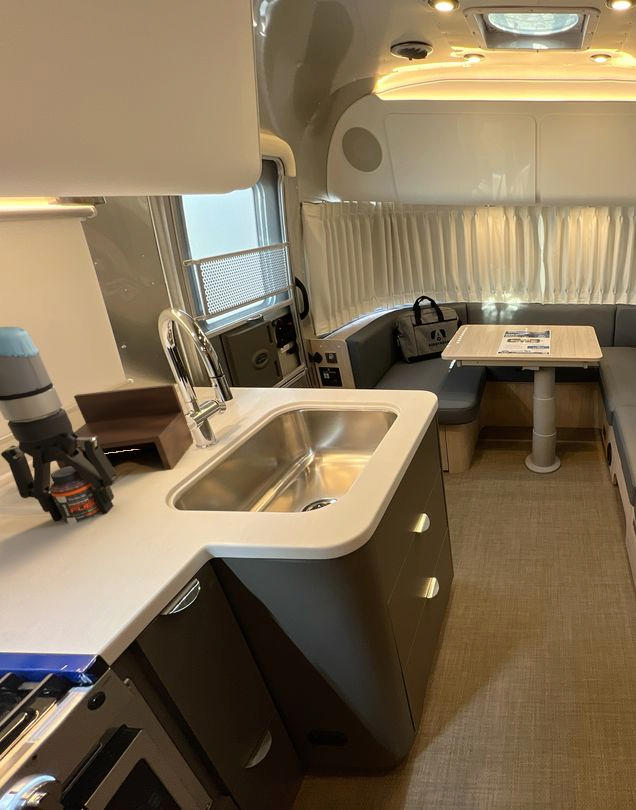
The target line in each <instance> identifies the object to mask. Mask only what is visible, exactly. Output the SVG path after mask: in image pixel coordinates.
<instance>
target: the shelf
mask: <svg viewBox="0 0 636 810" xmlns="http://www.w3.org/2000/svg"><path fill="white" fill-rule="evenodd" d="M73 398H74V400H75V402H76V404H77V407H78V409H79V410H80V414H81V416H82V418H83V420H84V422H85V423H83V425H82V426H80V427H79V428H77V429H76V430H75V431H73V432H74V433H75V434H77V435H78V436H79V437H86V438H90V437H91V436H93V435H96V436H98V437H99V444H100V447H101V449H102V450H103V452H104V453H108V452H116V451H123V450H131V449H146V450H151V449H150V448H154V449H157V451H158V455H159V457H160V459H161V462H162V465H163V467H164V470H165V471H171V470H172V471H173V470H174V468H175V467H176V466H177V464H178V463H179V462H180V460H181V459H182V458H183V456H184V455H185V454H186V452H187V451H188V450H189V448H191V446H192V444H193V443H194V442H193V440H194V437H193V435H192V432H191V429H190V426H189V424H188V425H187V423H188V420H187V418H186V415H185V412H184V409H183V406H182V403H181V401H180V398H179V395H178V392H177V389H176V386H175V384H165V385H163V384H162V385H153V386H144V387H135V388H126V389H116V390H106V391H98V392H97V391H96V392H87V393H78V394H75V395H74V396H73ZM188 426H189V427H188ZM77 448H78V449H79V450H80V451H81V452H82V453H83V456H84V457H85V458H86V459H87V460H88V461H89V462H90V463H91V464H92V462H91V461H90V459H89V458H88V456H87V454H86V452H85V450H83V449H82V447H81V445H79V444H78V446H77ZM72 456H73V455H72ZM72 456H71V457H72ZM55 462H56V464H57V466H58V468H59V469H62V468H65V467H71V466H70V465H66V464H65V463H64V462H63V461H55ZM92 465H93V464H92Z"/></svg>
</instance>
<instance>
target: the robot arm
mask: <svg viewBox="0 0 636 810" xmlns="http://www.w3.org/2000/svg"><path fill="white" fill-rule="evenodd" d="M31 338H32V337H30V335H29V333H28V331H26V329H24V328H22V327H19V326H0V413H1V415H2V417H3V419H4V420H6V421H8V422H7V426H8V428H9V430H10V432H11V434H12V435H13V437H14V439H15V441H18V445H11V446H9V447H8V448H6V449H4V450H3V451H2V452H1V453H0V456H1V457H2V458H3V460H5V462H7V464H8V466H9V469H10V472H11V474H12V477H13V480H14V482H15V485H16V488H17V490H18V493H19V496H20V497H21V498H22V499H28V498H34V499H35V500H37V502H38V503H39V506H40V507H41V509H42V511H43V512H44V513H49V514H50V517H51V518H52V520H53V522H54V523H57V522H58V523H59V522H60V521H61V520H62V519H63V517H62V515H61V513H60V511H59V509H58V507H57V505H56V502H55V500H54V498H53V496H52V494H51V492H50V487H51V463H52V462H56V461H63V462H64V463H65V464H66V465H70V466H71V467H73V468H74V469H75V470H76V471H77V472H78V473H79V474H80V475H81V476H82V477H83V478H84V479H86V480H87V481H88V482H89V483H90V484H91V485H92V486H93V487H94V488H95V489H94V490H93V491H92V494H93V496H94V498H95V500H96V502H97V504H98V506H99V508H100V510H101V513H100V514H101V515H107V514H108V513H109V512H110V511H111V509H112V508H113V507H114V504H113V502H112V501H113V500H114V499H115V495H114V493H113V491H112V488H111V486H112V485H113V484H114V483H115V482H116V481H117V480H118V479H119V474H118V473H117V471H116V470H115V468H114V466H113V465H112V463H111V462H110V460H109V458H108V457H107V455H105V454H104V452H103V450H102V449H101V447H100V444H99V437H98V436H96V435H93V436H91V437H90V438H86V437H79V436H78V435H77V434H75V433H74V432H75V431H74V430H73V424H72V422H71V420H70V418H69V416H68V414H67V411H66V410H65V409H64V408H62V407H63V404H62V401H61V399H60V397H59V394H58V392H57V390H56V388H55V386H54V384H53V382H52V380H51V378H50V375H49V372H48V371H47V369H46V366H45V364H44V361H43V359H42V356H41V354H40V351H39V349H37V347H36V346H35V343H34V342H33V340H32V339H31ZM78 444H79V445H81V447H82V449H83V450H85V452H86V454H87V456H88V458H89V459H90V461H91V462H92V464H93V465H92V464H91V463H90V462H89V461H88V460H87V459H86V458H85V457H84V456H83V453H82V452H81V451H80V450H79V449H78V448H77V446H78ZM26 455H28V456H29V457H31V458H32V468H33V474H32V471H31V468H30V465H29V462H28V458H27V456H26ZM72 455H73V456H72ZM71 456H72V457H71Z"/></svg>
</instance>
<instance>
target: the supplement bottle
mask: <svg viewBox="0 0 636 810" xmlns="http://www.w3.org/2000/svg"><path fill="white" fill-rule="evenodd" d="M50 479H51V480H52V482H53V483H52V484H50V491H49V493H50V492H51V494H52V496H53V498H54V500H55V502H56V505H57V507H58V509H59V511H60V513H61V515H62V517H63V518H62V519H63V520H64V522H65V523H66V524H77V523H83V522H85V521H89V520H90V519H91V520H92V519H93V518H96V517H97V516H99V515H100V514H102V513H101V510H100V508H99V506H98V504H97V502H96V500H95V498H94V496H93V494H92V491H93V490H94V489H95V488H94V487H93V486H92V485H91V484H90V483H89V482H88V481H87V480H86V479H84V478H83V477H82V476H81V475H80V474H79V473H78V472H77V471H76V470H75V469H74V468H73V467H65V468H62V469H60V468H59V469H56V470H55V471H53V472H52V473H50Z"/></svg>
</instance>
